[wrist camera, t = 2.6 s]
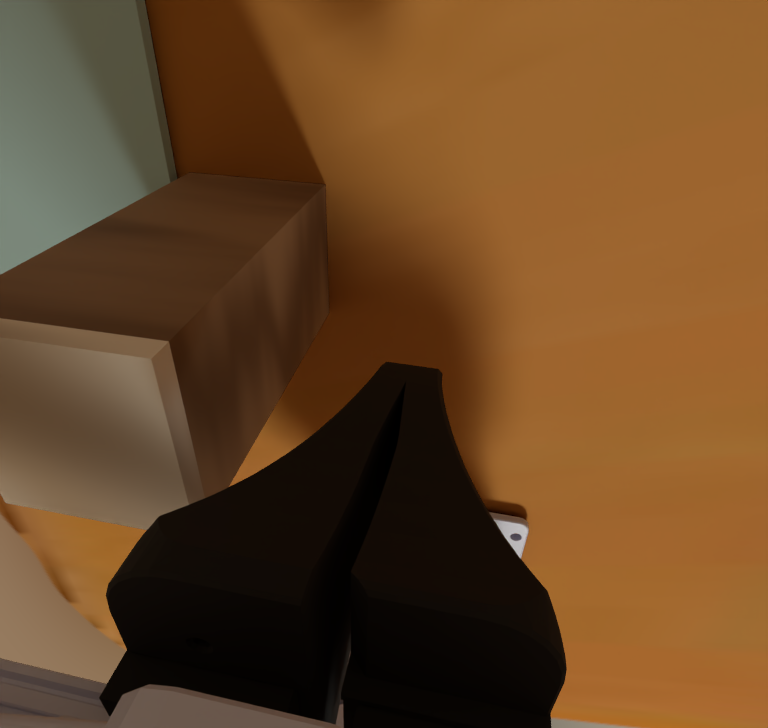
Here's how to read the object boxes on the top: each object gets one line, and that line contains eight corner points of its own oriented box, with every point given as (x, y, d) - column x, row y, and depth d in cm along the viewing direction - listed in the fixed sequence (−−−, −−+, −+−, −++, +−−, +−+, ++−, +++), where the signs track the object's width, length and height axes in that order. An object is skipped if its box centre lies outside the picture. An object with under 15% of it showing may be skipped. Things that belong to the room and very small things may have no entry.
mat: (215, 385, 25) (210, 391, 24) (2, 353, 26) (-6, 359, 26) (133, -60, 16) (123, -62, 15) (-185, -68, 17) (-202, -70, 17)
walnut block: (329, 312, 21) (197, 539, 12) (210, 298, 22) (5, 503, 13) (325, 184, 18) (151, 358, 10) (189, 172, 19) (-92, 323, 10)
